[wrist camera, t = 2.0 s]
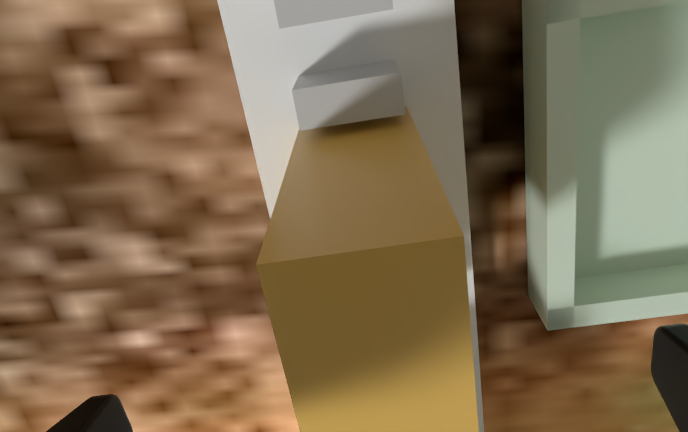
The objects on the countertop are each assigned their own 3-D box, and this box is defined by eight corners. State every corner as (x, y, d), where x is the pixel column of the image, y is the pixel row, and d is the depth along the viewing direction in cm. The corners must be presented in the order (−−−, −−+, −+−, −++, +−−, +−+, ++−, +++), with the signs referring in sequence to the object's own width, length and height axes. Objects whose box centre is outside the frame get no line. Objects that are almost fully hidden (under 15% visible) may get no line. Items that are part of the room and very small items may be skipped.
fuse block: (482, 464, 22) (501, 533, 19) (338, 479, 22) (337, 549, 20) (417, -403, 11) (439, -524, 8) (145, -341, 12) (83, -437, 9)
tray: (768, 264, 18) (815, 297, 16) (527, 295, 18) (547, 330, 17) (832, -67, 14) (906, -73, 12) (521, -14, 14) (546, -12, 13)
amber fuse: (424, 261, 17) (482, 481, 10) (330, 274, 17) (317, 499, 10) (406, 105, 15) (464, 235, 7) (301, 123, 15) (255, 264, 8)
